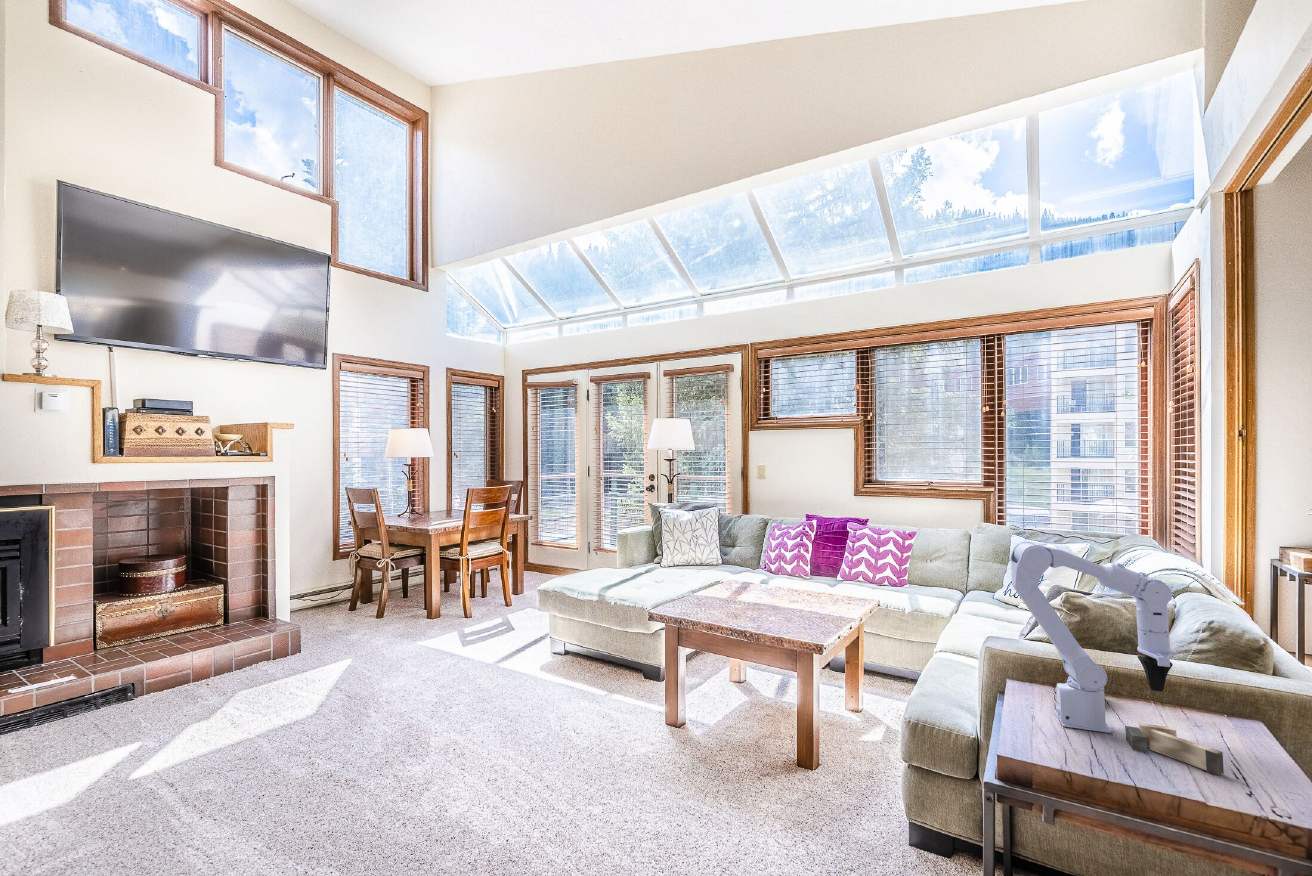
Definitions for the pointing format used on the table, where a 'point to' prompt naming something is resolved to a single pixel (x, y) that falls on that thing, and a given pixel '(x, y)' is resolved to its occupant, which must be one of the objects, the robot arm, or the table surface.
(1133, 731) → the tong pivot
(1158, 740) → the bar
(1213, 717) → the table surface
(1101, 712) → the robot arm
